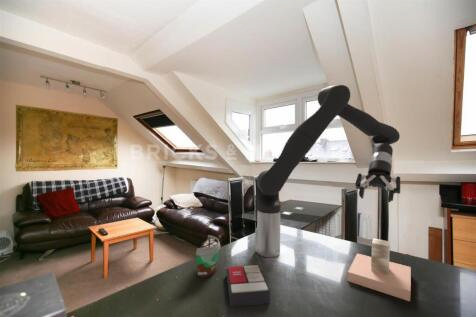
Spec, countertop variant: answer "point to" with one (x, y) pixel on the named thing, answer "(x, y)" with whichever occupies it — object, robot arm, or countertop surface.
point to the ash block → (380, 256)
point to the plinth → (381, 277)
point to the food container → (208, 257)
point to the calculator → (247, 286)
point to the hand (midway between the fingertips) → (375, 199)
